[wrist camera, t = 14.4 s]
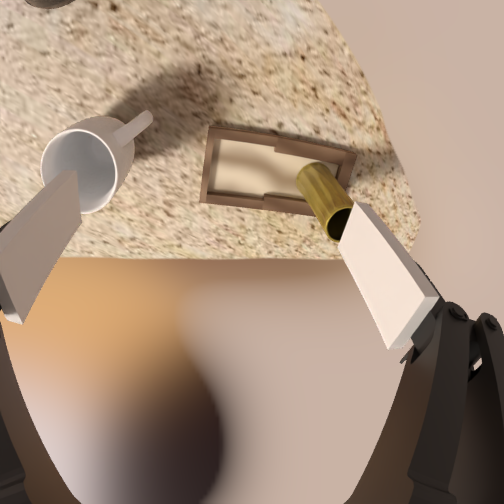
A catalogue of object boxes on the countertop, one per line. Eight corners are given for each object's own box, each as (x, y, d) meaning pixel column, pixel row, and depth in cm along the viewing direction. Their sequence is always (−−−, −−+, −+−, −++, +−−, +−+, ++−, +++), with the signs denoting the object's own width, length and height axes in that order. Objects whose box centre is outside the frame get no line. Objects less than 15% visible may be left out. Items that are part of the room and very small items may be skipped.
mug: (141, 78, 34) (109, 86, 24) (179, 137, 41) (164, 166, 30) (68, 136, 38) (25, 166, 27) (106, 187, 44) (75, 229, 33)
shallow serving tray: (209, 125, 40) (208, 127, 39) (353, 152, 44) (357, 155, 43) (199, 198, 47) (199, 202, 46) (332, 215, 51) (335, 219, 50)
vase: (292, 194, 48) (316, 244, 36) (299, 159, 44) (329, 199, 33) (326, 198, 49) (358, 247, 37) (335, 165, 45) (374, 206, 34)
